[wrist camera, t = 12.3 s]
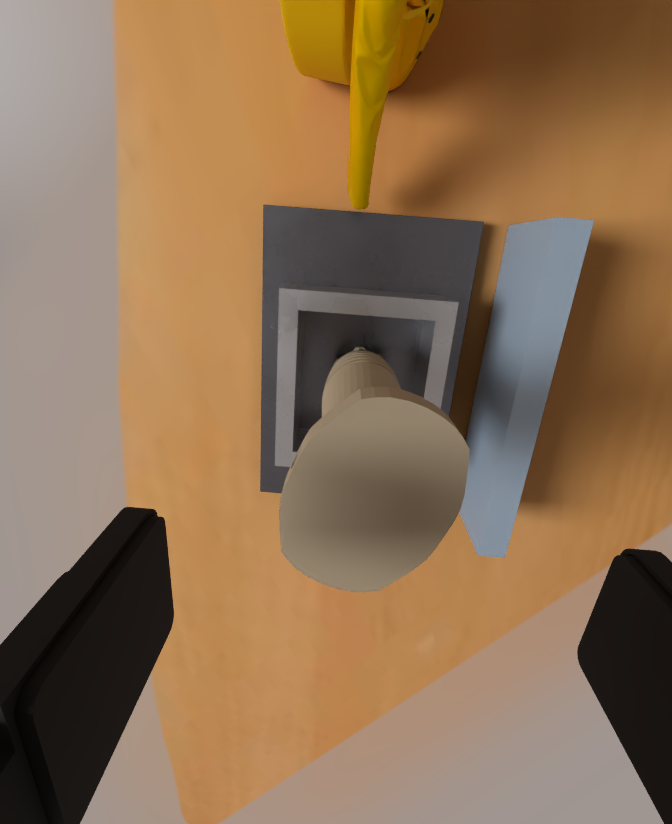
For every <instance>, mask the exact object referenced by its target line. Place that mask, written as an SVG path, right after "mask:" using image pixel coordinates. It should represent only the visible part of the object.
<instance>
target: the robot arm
mask: <svg viewBox="0 0 672 824" xmlns="http://www.w3.org/2000/svg"><path fill="white" fill-rule="evenodd" d="M173 618H174V609H173V599H172V588H171V578H170V567H169V557H168V546H167V536H166V526H165V520H164V518H163V517H158V516H157V512H156V511H155V510H154V509H146V508H134V507H125V508H123V509H122V510H121V511H120V512H119V514H118V515H117V516H116V517H115V518H114V519H113V521H112V522H111V523H110V524H109V525H108V526H107V528H106V529H105V530H104V531H103V532H102V533H101V534H100V536H99V537H98V538H97V539H96V540H95V541H94V543H93V544H92V545H91V546H90V547H89V548H88V549H87V551H86V552H85V553H84V554H83V555H82V556H81V558H80V559H79V560H78V561H77V562H76V563H75V565H74V566H73V567H72V568H71V569H70V570H69V571H68V572H66V573H64V574H63V575H62V576H61V577H60V578H59V579H57V581H56V582H55V583H54V584H53V585H52V586H51V587H50V589H49V590H48V591H47V592H46V593H45V594H44V595H43V597H42V598H41V599H40V600H39V601H38V602H37V603H36V605H35V606H34V607H33V608H32V609H31V610H30V611H29V613H28V614H27V615H26V616H25V617H24V619H23V620H22V621H21V622H20V623H19V624H18V626H16V628H15V629H14V630H13V631H12V632H11V633H10V634H9V636H8V637H7V638H6V639H5V640H4V642H2V644H1V645H0V824H80V822H81V820H82V818H83V816H84V814H85V812H86V810H87V808H88V805H89V803H90V801H91V799H92V797H93V795H94V793H95V791H96V788H97V786H98V784H99V782H100V780H101V778H102V776H103V774H104V771H105V769H106V767H107V765H108V763H109V761H110V759H111V756H112V754H113V752H114V750H115V748H116V746H117V744H118V741H119V739H120V737H121V735H122V733H123V731H124V729H125V726H126V724H127V722H128V720H129V718H130V716H131V714H132V712H133V709H134V707H135V705H136V703H137V701H138V699H139V696H140V695H141V692H142V690H143V688H144V686H145V684H146V682H147V680H148V678H149V675H150V673H151V671H152V669H153V667H154V665H155V663H156V661H157V658H158V656H159V654H160V652H161V650H162V648H163V646H164V643H165V641H166V639H167V637H168V635H169V633H170V630H171V627H172V624H173ZM578 660H579V664H580V666H581V668H582V670H583V672H584V674H585V676H586V678H587V680H588V682H589V683H590V685H591V687H592V689H593V691H594V693H595V695H596V697H597V699H598V700H599V702H600V704H601V706H602V708H603V710H604V712H605V714H606V715H607V717H608V719H609V721H610V723H611V725H612V726H613V728H614V730H615V732H616V734H617V736H618V738H619V740H620V742H621V744H622V745H623V747H624V749H625V751H626V753H627V755H628V757H629V759H630V760H631V762H632V764H633V766H634V768H635V770H636V772H637V773H638V775H639V777H640V779H641V781H642V783H643V785H644V787H645V788H646V790H647V792H648V794H649V796H650V798H651V800H652V801H653V803H654V805H655V807H656V809H657V811H658V813H659V815H660V816H661V818H662V820H663V822H664V824H672V562H671V561H670V560H669V559H668V558H667V557H666V556H665V555H663V554H662V553H661V552H657V551H651V550H639V549H625V550H624V551H623V552H622V553H621V555H618V556H616V557H615V558H614V559H613V561H612V564H611V566H610V569H609V571H608V574H607V576H606V579H605V581H604V584H603V586H602V589H601V591H600V594H599V596H598V599H597V601H596V604H595V606H594V609H593V611H592V614H591V616H590V619H589V621H588V624H587V626H586V629H585V631H584V634H583V636H582V639H581V641H580V644H579V646H578Z"/></svg>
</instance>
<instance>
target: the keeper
mask: <svg viewBox="0 0 672 824" xmlns="http://www.w3.org/2000/svg"><path fill="white" fill-rule="evenodd" d="M483 224H484V222H479V221H466V220H453V219H441V218H428V217H415V216H402V215H389V214H376V213H363V212H350V211H338V210H325V209H312V208H299V207H286V206H273V205H264V208H263V299H262V390H261V481H260V491H261V492H273V493H282V491H283V487H284V483H285V479H286V476H287V474H288V471H289V469H290V467H291V464H292V462H293V460H294V458H295V456H296V454H297V452H298V449H299V447H300V446H301V444H302V442H303V440H304V438H305V436H306V434H307V433H308V431H309V430H310V428H311V427H312V426H313V425H314V424H315V423H316V422H318V421H319V420H320V419H321V418H322V396H323V391H324V387H325V383H326V380H327V378H328V375H329V373H330V371H331V369H332V367H333V364H334V363H335V361H336V360H337V359H338V358H339V357H342V356H343V355H345V354H347V353H349V352H351V351H353V350H354V349H355V347H358V346H363V347H364V348H365V349H366V350H367V351H370V352H373V353H375V354H379V355H381V356H382V357H383V358H384V360H385V361H386V362H387V363H388V364H389V366H390V367H391V368H392V370H393V372H394V373H395V375H396V377H397V380H398V382H399V385H400V388H401V389H402V390H405V391H408V392H411V393H413V394H416V395H418V396H421V397H422V398H424V399H426V400H428V401H429V402H431V403H433V404H434V405H436V406H437V407H438V408H439V409H440V410H442V411H443V412H444V413H445V414H446V415H447V416H448V417H449V413H450V407H451V402H452V396H453V391H454V385H455V379H456V374H457V368H458V363H459V357H460V352H461V346H462V341H463V335H464V329H465V324H466V318H467V313H468V307H469V302H470V296H471V291H472V285H473V279H474V274H475V268H476V263H477V257H478V252H479V246H480V240H481V235H482V229H483Z"/></svg>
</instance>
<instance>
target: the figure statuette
mask: <svg viewBox="0 0 672 824" xmlns="http://www.w3.org/2000/svg"><path fill="white" fill-rule="evenodd" d="M280 2H281V9H282V15H283V22H284V27H285V33H286V38H287V42H288V46H289V50H290V53H291V56H292V59H293V62H294V64H295V66H296V68H297V70H298V71H299V73H301V74H302V75H304V76H307V77H312V78H317V79H321V80H326V81H331V82H335V83H340V84H344V85H349V86H350V145H349V161H348V182H347V189H348V193H349V197H350V201H351V204H352V206H353V207H355V208H357V209H365V208H367V207H368V205H369V193H370V184H371V177H372V169H373V162H374V155H375V148H376V140H377V136H378V132H379V128H380V124H381V119H382V114H383V110H384V104H385V99H386V96H387V93H388V91H391V90H394V89H395V88H397V87H398V86H400V85H401V84H402V83H403V82H404V81H405V80H406V79H407V77H408V76H409V74H410V72H411V70H412V69H413V67H414V65H415V63H416V61H417V60H418V58H419V56H420V54H421V52H422V51H423V49H424V47H425V45H426V43H427V41H428V40H429V38H430V36H431V34H432V32H433V31H434V29H435V28H436V26H437V24H438V21H439V18H440V14H441V10H442V6H443V2H444V0H280Z"/></svg>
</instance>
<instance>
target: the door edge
mask: <svg viewBox="0 0 672 824" xmlns="http://www.w3.org/2000/svg"><path fill="white" fill-rule="evenodd" d="M593 223H594V220H587V219H574V218H561V217H556V218H550V219H544V220H538V221H532V222H526V223H520V224H514V225H509V226H508V231H507V236H506V241H505V246H504V251H503V256H502V261H501V266H500V271H499V276H498V281H497V286H496V291H495V296H494V301H493V307H492V312H491V317H490V322H489V327H488V332H487V337H486V342H485V347H484V352H483V357H482V362H481V367H480V372H479V377H478V382H477V387H476V392H475V397H474V402H473V407H472V412H471V417H470V422H469V427H468V432H467V437H466V444H467V445H468V447H469V449H470V453H469V463H468V473H467V481H466V489H465V495H464V499H463V502H462V506H461V509H460V511H459V512H460V515H461V517H462V519H463V522H464V524H465V527H466V529H467V531H468V534H469V536H470V539H471V541H472V543H473V546H474V548H475V550H476V553H477V555H478V556H490V557H502V558H505V556H506V552H507V549H508V545H509V541H510V537H511V533H512V530H513V526H514V522H515V518H516V514H517V511H518V507H519V503H520V499H521V495H522V492H523V488H524V484H525V480H526V477H527V473H528V469H529V465H530V461H531V458H532V454H533V450H534V446H535V442H536V439H537V435H538V431H539V427H540V423H541V420H542V416H543V412H544V408H545V405H546V401H547V397H548V393H549V389H550V386H551V382H552V378H553V374H554V370H555V367H556V363H557V359H558V355H559V352H560V348H561V344H562V340H563V336H564V333H565V329H566V325H567V321H568V317H569V314H570V310H571V306H572V302H573V298H574V295H575V291H576V287H577V283H578V280H579V276H580V272H581V268H582V264H583V261H584V257H585V253H586V249H587V245H588V242H589V238H590V234H591V230H592V226H593Z"/></svg>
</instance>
